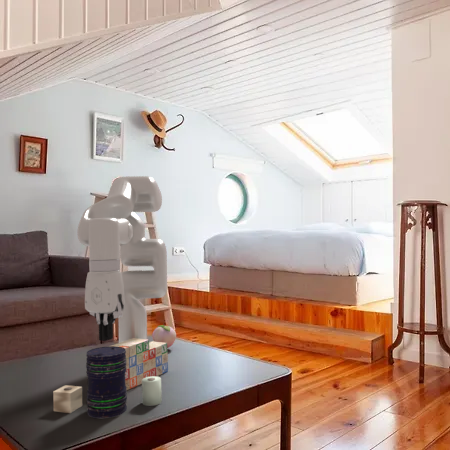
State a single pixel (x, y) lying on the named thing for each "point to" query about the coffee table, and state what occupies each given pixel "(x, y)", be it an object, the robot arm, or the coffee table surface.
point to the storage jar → (106, 382)
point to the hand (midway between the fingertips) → (106, 339)
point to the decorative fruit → (164, 335)
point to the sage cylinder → (151, 391)
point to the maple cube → (67, 398)
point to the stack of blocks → (143, 360)
